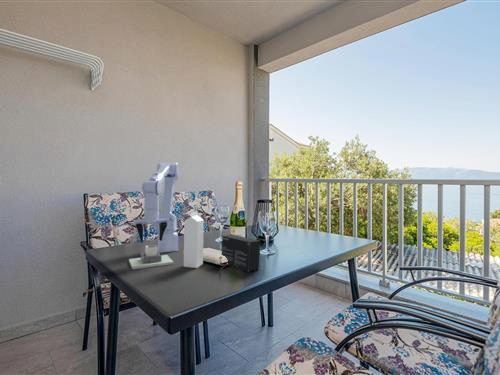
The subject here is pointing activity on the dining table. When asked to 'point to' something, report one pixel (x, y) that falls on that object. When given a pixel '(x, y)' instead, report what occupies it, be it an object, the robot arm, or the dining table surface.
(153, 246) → the plug
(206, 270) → the dining table surface
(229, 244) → the box
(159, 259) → the board
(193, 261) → the milk
